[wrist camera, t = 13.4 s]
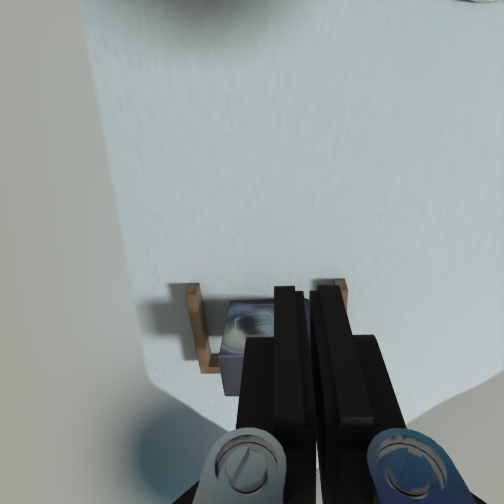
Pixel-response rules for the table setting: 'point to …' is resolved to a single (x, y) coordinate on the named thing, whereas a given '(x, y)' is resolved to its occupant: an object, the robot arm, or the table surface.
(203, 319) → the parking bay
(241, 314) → the small box
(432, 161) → the table surface
